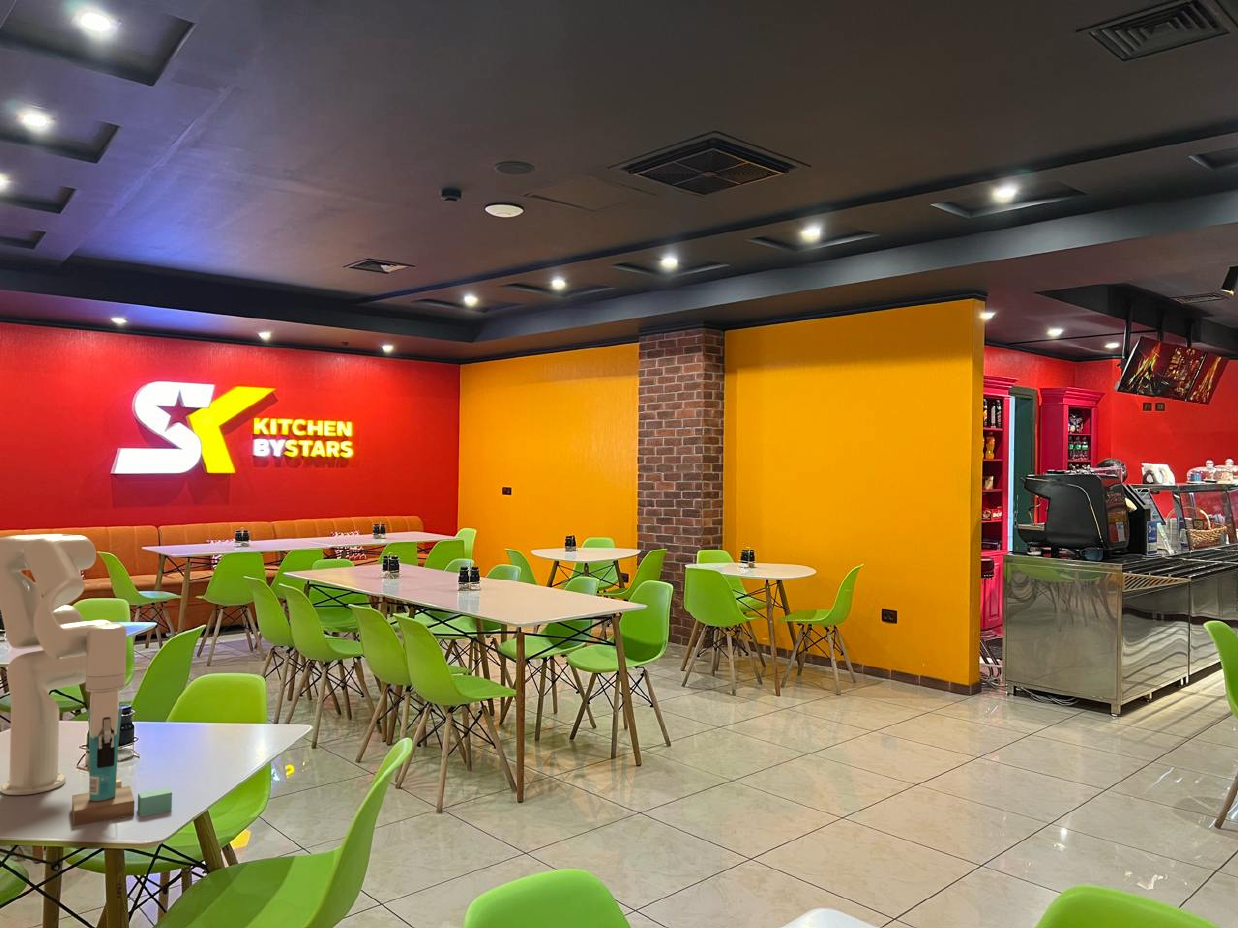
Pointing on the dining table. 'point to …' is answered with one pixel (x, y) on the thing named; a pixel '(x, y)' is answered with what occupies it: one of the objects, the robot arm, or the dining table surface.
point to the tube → (102, 769)
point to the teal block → (154, 801)
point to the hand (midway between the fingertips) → (104, 760)
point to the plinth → (102, 807)
